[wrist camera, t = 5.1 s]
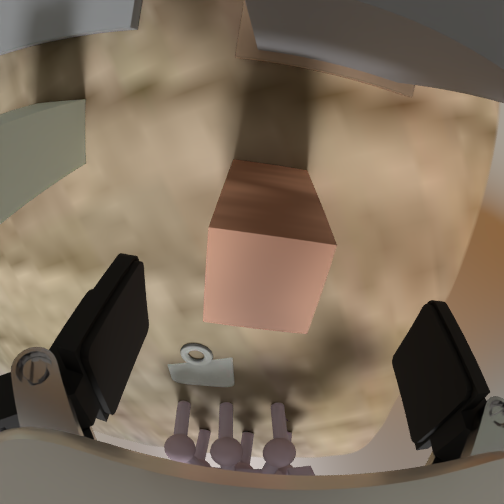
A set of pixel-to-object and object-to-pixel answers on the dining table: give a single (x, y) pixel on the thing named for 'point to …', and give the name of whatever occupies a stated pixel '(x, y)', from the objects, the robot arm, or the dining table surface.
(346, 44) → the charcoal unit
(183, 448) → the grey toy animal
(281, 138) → the dining table surface
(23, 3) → the mat
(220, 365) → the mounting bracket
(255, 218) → the terracotta block
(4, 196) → the sage block
